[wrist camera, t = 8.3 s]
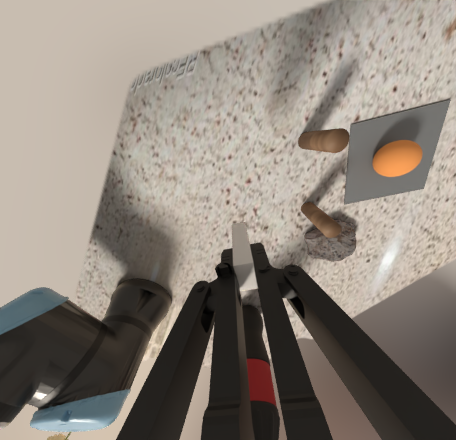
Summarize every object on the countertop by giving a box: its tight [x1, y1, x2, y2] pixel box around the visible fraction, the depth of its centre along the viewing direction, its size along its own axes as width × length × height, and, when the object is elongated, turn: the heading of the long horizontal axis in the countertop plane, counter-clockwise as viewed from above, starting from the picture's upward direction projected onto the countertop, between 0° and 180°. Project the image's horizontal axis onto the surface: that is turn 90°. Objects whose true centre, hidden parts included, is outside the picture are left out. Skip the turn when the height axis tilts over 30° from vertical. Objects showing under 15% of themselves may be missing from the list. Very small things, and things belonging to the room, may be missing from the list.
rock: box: [305, 219, 356, 262], centre depth 34 cm, size 9×11×4 cm
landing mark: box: [344, 100, 450, 204], centre depth 28 cm, size 14×14×1 cm
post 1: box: [298, 129, 349, 153], centre depth 23 cm, size 3×3×9 cm
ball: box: [372, 140, 423, 177], centre depth 26 cm, size 6×6×6 cm
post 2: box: [301, 202, 342, 238], centre depth 29 cm, size 3×3×9 cm
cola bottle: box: [242, 306, 280, 440], centre depth 34 cm, size 8×8×30 cm
